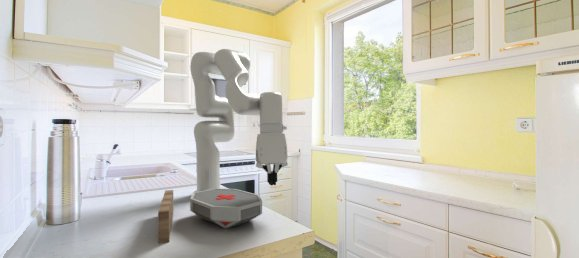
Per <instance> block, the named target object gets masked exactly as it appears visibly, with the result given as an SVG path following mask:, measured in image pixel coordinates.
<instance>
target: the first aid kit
mask: <svg viewBox="0 0 579 258" xmlns="http://www.w3.org/2000/svg"><path fill="white" fill-rule="evenodd" d="M193 192H194V191H193ZM193 192H192V194H191V196H190V198H189V208H190V209H189V211H190V212H191V213H193V214H195V215H196V216H198V217H199V218H200V219H202V220H203V221H204V220H206V221H208V222H211V223H213V224H216V225H218V226H220V227H222V228H223V229H229V228H231V227H235V226H237V225H240V224H243V223H246V222H250V221H252V220H254V219H256V218H257V217H259V216H261V215H262V214H263V200H262V198H261V196H260V194H257V193H252V192H250V191H249V192H248V191H246V190H245V191H244V190H241V189H237V188H220V189H219V188H215V189H210V190H205V191H199V192H194V193H193Z"/></svg>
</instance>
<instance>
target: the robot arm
mask: <svg viewBox="0 0 579 258" xmlns="http://www.w3.org/2000/svg"><path fill="white" fill-rule="evenodd" d="M189 66H190V67H189V68H190V73H191V78H192V81H193V84H194V97H195V100H194V101H195V109H196V113H197V115H198V116H199V117H201V118H205V119H206V118H208V119H209V118H210V119H215V118H216V119H218V120H201V121H199V122H197V123H196V124H195V126H194V127H193V136H194V141H195V150H196V190H195V191H193V192H192V194H193V193H194V192H199V191H205V190H210V189H215V188H219V189H221V184H220V183H221V177H220V176H221V174H220V173H221V172H220V170H221V169H220V167H221V166H220V165H221V164H220V163H221V162H220V161H221V160H220V158H221V157H220V155H221V154H220V151H219V149H218V147H217V145H216V144H217V143H227V142H231V140H233V139H234V136H235V119H234V118H235V117H234V112H235V114H238V115H240V116H259V133H257V136H256V141H255V142H256V143H255V144H256V145H255V161H256V164H255V168H257V169H262V170H264V171H265V172H266V173H267V174H266V175H267V176H266V177H267V179H266V180H267V181H266V182H267V183H268V185H269V186H276V185H277V182H278V173H279V171H280V170H281V168H284V167H288V165H289V164H288V160H289V159H288V158H289V157H288V146H287V145H288V144H287V138H286V135H285V133H284V131H285V130H287V129H288V128H287V125H284V123H283V96H282V94H281V93H280V92H277V91H276V92H275V91H266V92H262V93H250V92H244V91H243V90H242V89H241V88H242V87H243V86H244V85H246V83H248V81H249V72H248V71H249V70H250V67H251V60H250V57H249V55H247V54H246V53H245V52H243V51H239V50H234V49H233V50H232V49H230V48H229V49H228V48H221V49H218V50H217V51H216V52H214V53H213V52H209V51H208V52H207V51H198V52H196V53H194V54H193V55H192V56H191V60H190V65H189ZM209 74H212V75H219V76H220V75H221V76H222V77H223V78H224V80H225V82H226V85H225V90H224V91H225V92H224V93H225V96H218V95H217V93H216V92H217V91H216V85H215V82H214V81H213V79H212V78H211V76H210V75H209Z"/></svg>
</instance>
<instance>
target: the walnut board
mask: <svg viewBox="0 0 579 258" xmlns="http://www.w3.org/2000/svg"><path fill="white" fill-rule="evenodd" d="M157 216H158V217H157V218H158V222H157V223H158V225H157V226H158V244H163V243H170V240H171V239H170V238H171V231H172V225H173V220H174V190H173V189H169V190H165V191H164V194H163V197H162V200H161V203H160V206H159V209H158V215H157Z"/></svg>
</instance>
